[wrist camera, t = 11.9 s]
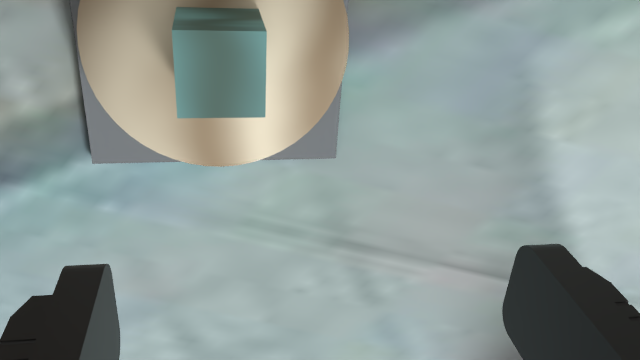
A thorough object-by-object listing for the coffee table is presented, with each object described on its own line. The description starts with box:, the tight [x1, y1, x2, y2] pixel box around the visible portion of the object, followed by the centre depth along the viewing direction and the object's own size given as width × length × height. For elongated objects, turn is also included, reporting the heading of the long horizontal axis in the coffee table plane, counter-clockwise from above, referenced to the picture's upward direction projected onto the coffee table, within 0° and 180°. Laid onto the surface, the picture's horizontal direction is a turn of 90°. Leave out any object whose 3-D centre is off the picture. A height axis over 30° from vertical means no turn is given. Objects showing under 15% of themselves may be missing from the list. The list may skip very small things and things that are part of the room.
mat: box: [70, 0, 349, 164], centre depth 31 cm, size 14×14×1 cm
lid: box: [77, 0, 349, 166], centre depth 28 cm, size 14×14×6 cm
